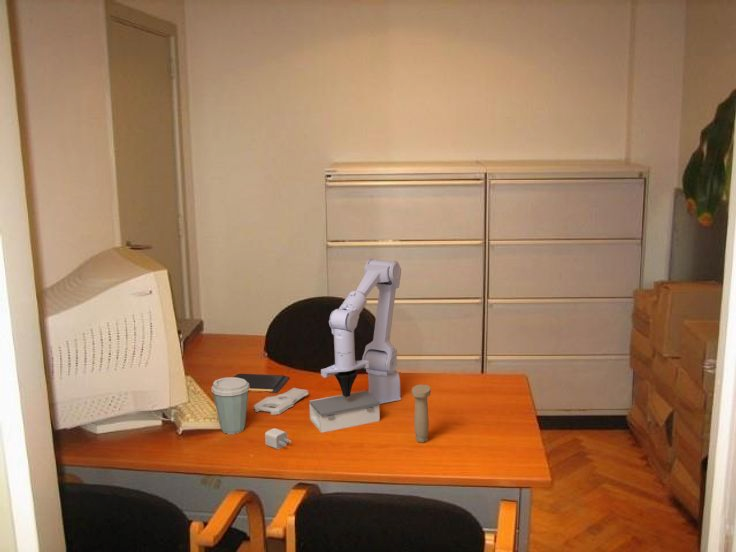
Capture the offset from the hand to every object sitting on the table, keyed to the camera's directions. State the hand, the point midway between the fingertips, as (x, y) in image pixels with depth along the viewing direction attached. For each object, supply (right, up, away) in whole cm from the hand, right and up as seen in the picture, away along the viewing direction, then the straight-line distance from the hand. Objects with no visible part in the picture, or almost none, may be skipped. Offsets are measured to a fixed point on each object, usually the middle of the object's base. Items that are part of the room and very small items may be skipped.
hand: (346, 395), depth 206 cm
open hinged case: (-1, -8, +4) cm, 9 cm away
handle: (+21, -11, -11) cm, 26 cm away
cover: (-1, -3, +2) cm, 4 cm away
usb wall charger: (-18, -12, -12) cm, 24 cm away
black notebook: (-31, -3, +35) cm, 47 cm away
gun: (-21, -6, +17) cm, 27 cm away
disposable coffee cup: (-32, -10, -1) cm, 34 cm away
